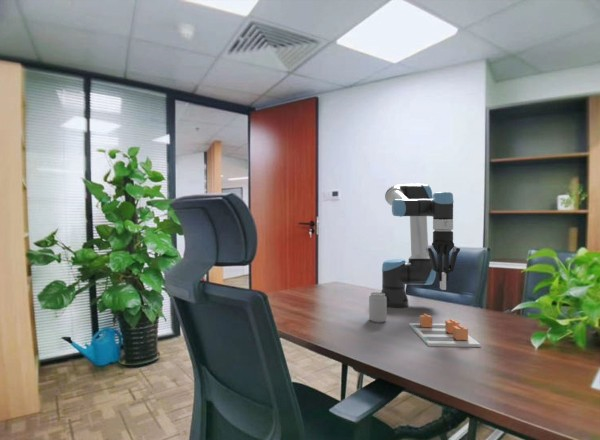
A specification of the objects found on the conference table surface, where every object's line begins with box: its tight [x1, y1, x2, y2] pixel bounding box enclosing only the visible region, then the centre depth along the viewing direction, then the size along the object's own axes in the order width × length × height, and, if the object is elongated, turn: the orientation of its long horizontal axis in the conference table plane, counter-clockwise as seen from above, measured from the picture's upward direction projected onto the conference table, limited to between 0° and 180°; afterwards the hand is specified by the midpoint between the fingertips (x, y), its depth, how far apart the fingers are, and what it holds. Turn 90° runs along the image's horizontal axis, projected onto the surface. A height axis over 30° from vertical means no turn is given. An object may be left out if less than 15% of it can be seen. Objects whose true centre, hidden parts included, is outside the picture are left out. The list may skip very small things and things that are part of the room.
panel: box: [409, 322, 481, 348], centre depth 129 cm, size 23×18×1 cm
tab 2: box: [444, 318, 460, 333], centre depth 129 cm, size 3×4×5 cm
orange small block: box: [419, 313, 433, 327], centre depth 136 cm, size 3×4×5 cm
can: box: [368, 291, 388, 324], centre depth 148 cm, size 8×8×12 cm
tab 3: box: [453, 323, 469, 340], centre depth 122 cm, size 3×4×5 cm
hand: (442, 289), depth 135 cm, fingers closed
